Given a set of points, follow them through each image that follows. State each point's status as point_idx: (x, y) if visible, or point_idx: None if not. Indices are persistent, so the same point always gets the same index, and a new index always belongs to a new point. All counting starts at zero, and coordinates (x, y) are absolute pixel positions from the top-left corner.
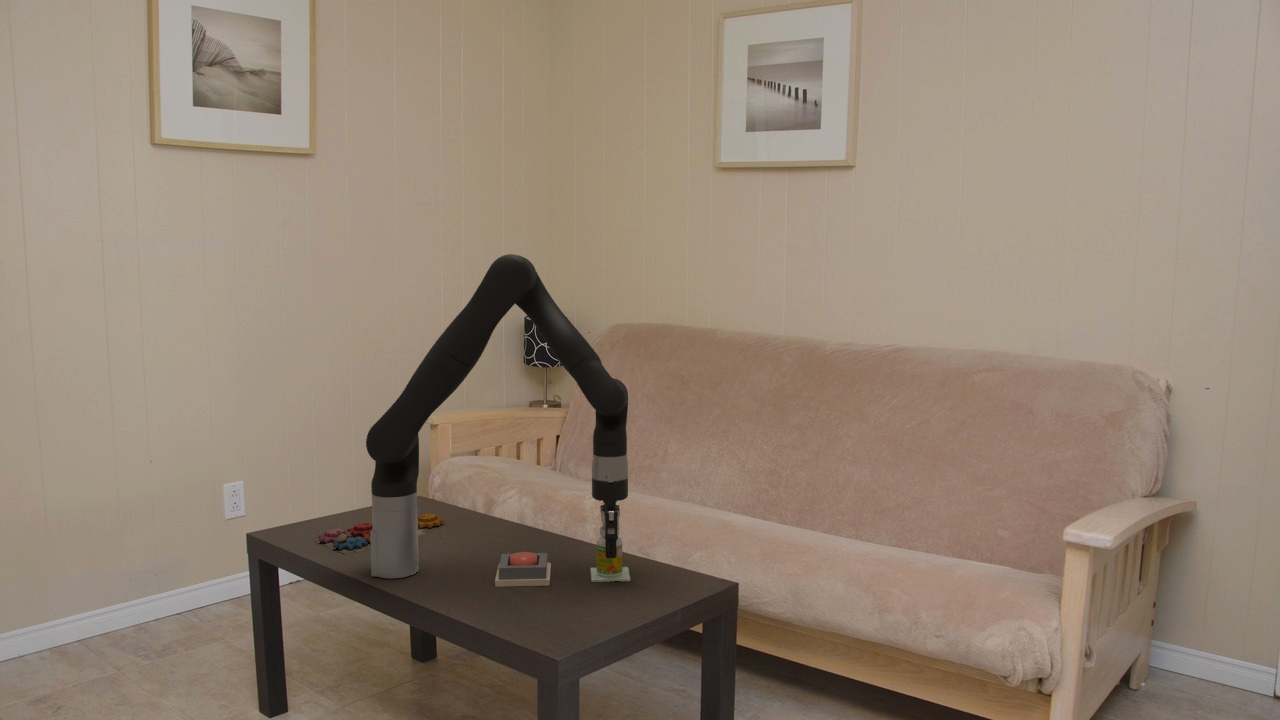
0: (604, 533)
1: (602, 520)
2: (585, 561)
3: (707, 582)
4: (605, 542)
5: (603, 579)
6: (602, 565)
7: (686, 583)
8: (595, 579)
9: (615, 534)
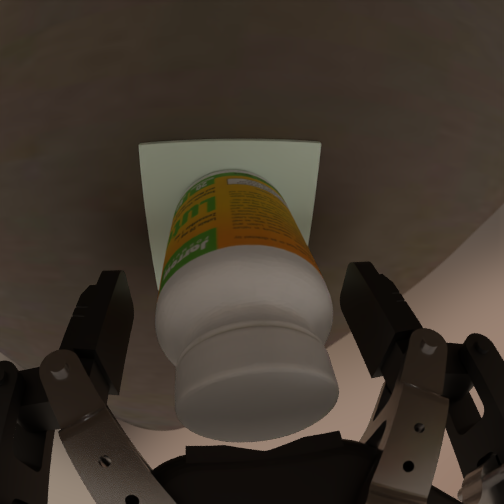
0: (185, 370)
1: (94, 495)
2: (420, 134)
3: (172, 415)
4: (93, 335)
5: (150, 196)
6: (176, 216)
7: (159, 392)
8: (149, 162)
9: (16, 431)
